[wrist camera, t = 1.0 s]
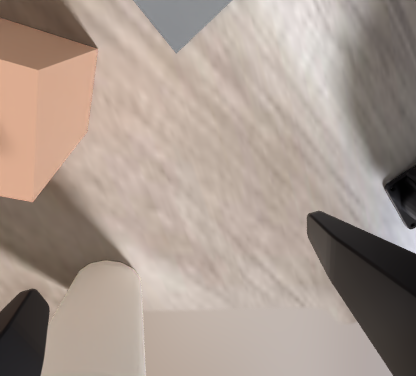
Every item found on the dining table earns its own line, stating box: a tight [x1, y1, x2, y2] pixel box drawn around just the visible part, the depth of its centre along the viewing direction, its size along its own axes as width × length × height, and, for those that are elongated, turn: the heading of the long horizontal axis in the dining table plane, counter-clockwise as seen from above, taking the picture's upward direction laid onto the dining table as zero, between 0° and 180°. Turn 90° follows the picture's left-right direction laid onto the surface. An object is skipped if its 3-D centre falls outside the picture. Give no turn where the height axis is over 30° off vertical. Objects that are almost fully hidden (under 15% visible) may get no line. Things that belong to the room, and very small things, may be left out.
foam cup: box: [41, 260, 146, 376], centre depth 23 cm, size 10×9×13 cm
